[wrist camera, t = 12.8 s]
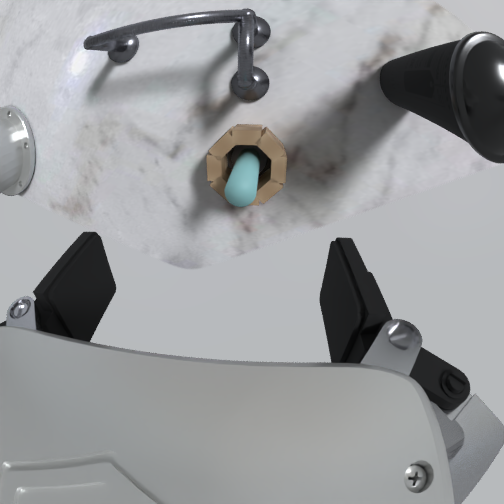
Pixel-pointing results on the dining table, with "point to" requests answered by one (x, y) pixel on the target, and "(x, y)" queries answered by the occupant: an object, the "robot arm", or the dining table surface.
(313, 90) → the dining table surface
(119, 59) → the corner grab bar
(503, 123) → the drinking cup
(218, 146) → the ring
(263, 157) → the peg
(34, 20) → the dining table surface
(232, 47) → the dining table surface
